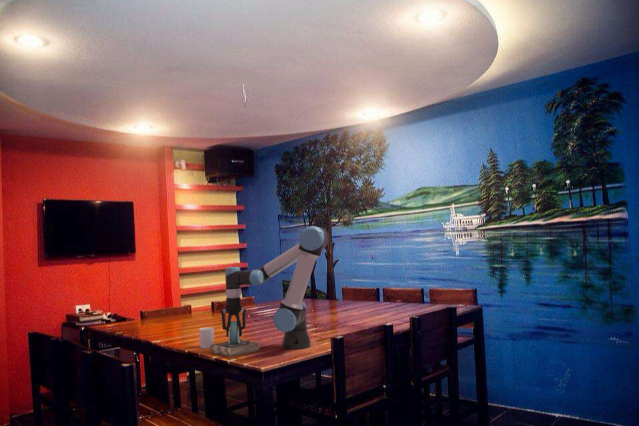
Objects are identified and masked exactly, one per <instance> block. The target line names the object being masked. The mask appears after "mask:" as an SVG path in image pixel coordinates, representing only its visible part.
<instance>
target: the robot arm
mask: <svg viewBox="0 0 639 426" xmlns="http://www.w3.org/2000/svg"><path fill="white" fill-rule="evenodd" d="M329 242H330V235H329V232H328V231H327V230H326V229H325V228H324V227H322V226H321V227H320V226H315V225H313V226H307V227H305V228H304V229H303V230H302V231H301V233H300V234H299V242H298V243H296V244H295V245H294V246H293V247H291V248H290V249H288V250H286V251H285V252H283V253H281V254H280V255H278V256H276V257H274V259H272V260H270V261H269V262H267V263H266V264H264V265H262V266H261V267H259V268H257V269H251V270H250V269H249V270H241V268H240V267H239V266H229V267H226V268H225V276H224V278H225V297H226V298H225V308H224V309H221V310H220V314H221V323H222V326H221V327H222V330H224V331H225V332H226V337H227V338H228V341H229V344H230V343H231V340H230V322H231V321H232V317H233V316H235V319H236V321H237V323H238V331H237V332H238V343H240V339H241V337H242V336H243V330H244V329H245V328H246V323H247V322H246V319H247V318H246V313H247V311H248V309H247V308H244V307H243V306H242V297H241V295H242V294H241V286H259V285H262V284H264V283H266V282H267V281H269V279H271V278H273V277H274V276H275V275H277V274H279V273H280V272H282V271H284V270H285V269H287V268H288V267H290V266H291V265H293V264H295V263H296V264H295V267H294V271H293V273H292V276H291V279H290V282H289V286H288V287H287V291H286V294H285V296H284V297H285V298H283V299H281V300H280V303H279V307H278V308H277V310H276V311H275V312H274V313H273V316H272V321H273V325H274V327H275V328H276V329H277V330H278V331H280V332H282V333H283V332H284V334H283V339H282V342H281V348H282V349H285V350H286V349H287V350H301V349H306V348H310V347H311V346H312V341H311V339H310V335H309V333H308V329H307V328H308V325H307V322H308V321H307V320H308V319H307V305H306V303H305V302H303V301H304V300H303V299H304V297H305V293H306V291H307V287H308V285H309V282H310V278H311V275H312V273H313V270H314V266H315V263H316V261H317V259H318V258H321V255H322V252H323V249H325V248H326V247H327V245H328V244H329ZM226 312H227V314H228V317H227V319H226ZM240 313H242V315H241V316H242V317H240ZM241 318H242V322H241ZM226 320H227V321H226Z"/></svg>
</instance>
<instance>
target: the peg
mask: <svg viewBox="0 0 639 426" xmlns="http://www.w3.org/2000/svg"><path fill="white" fill-rule="evenodd" d="M229 330H230V340H231V345H236V344H239V343H238V332H237V331H238V330H239V328H238V323H237V320H231V322H230V329H229Z"/></svg>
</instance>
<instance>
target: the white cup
mask: <svg viewBox="0 0 639 426" xmlns="http://www.w3.org/2000/svg"><path fill="white" fill-rule="evenodd" d="M198 333H199V336H198V337H199V343H200V345H199V346H200V349H210V344H214V337H215V335H214V334H215V328H214V327H210V326H209V327H200V328H199V329H198Z"/></svg>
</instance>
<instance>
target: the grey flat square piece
mask: <svg viewBox="0 0 639 426" xmlns="http://www.w3.org/2000/svg"><path fill="white" fill-rule="evenodd" d="M260 349H261V348H260V342H258V341H254V340H253V341H252V340H246V339H242V338H240V343H239V344H236V345H231V343H230V344H229V340H227V341H223V342H222V341H221V342H217V343H213V344H210V348H209V350H210V351H209V352H210V353H212V354H214V355H220V356H223V357H227V358H232V357H236V356H242V355H246V354H250V353H255V352H260Z"/></svg>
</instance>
